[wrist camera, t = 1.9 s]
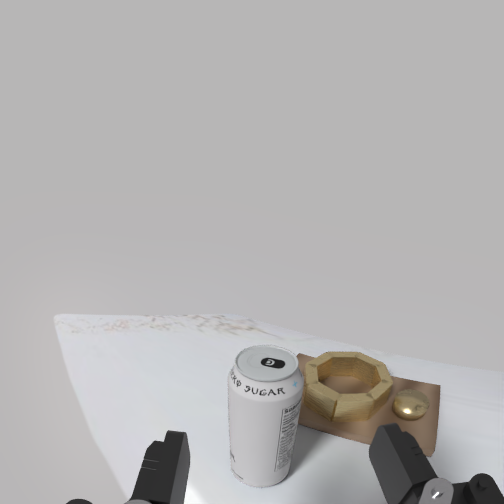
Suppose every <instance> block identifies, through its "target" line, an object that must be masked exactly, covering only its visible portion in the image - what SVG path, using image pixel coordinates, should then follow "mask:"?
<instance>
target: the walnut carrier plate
mask: <svg viewBox="0 0 504 504" xmlns="http://www.w3.org/2000/svg"><path fill="white" fill-rule="evenodd" d="M296 357H297V359H298V362H299V365H298V367H299V369H300V370H301V372H302V374H303V377H304V372H305V364H306V363H307V362H309V361H311V360H313V359H315V358H314V357H311V356H307V355H304V354H300V353H299V354H298V355H297V356H296ZM391 379H392V381H393V385H392V388H391V391H390V394H389V397H388V399H387V402H386V404H385V405H384V406H383V407H382V408H381V409H380V410H379V411H378V412H377V413H376V414H375V415H374V416H373V417H372V418H371V419H370V420H367V421H358V422H332V421H328V420H327V419H325V418H323V417H322V416H320V415H319V414H317V413H316V412H314V411H312V410H311V409H309V408H308V407H306V406H305V405H304V404H303V393H302V400H301V406H300V412H299V418H298V424H301V425H304V426H307V427H310V428H313V429H316V430H319V431H323V432H326V433H329V434H333V435H336V436H339V437H343V438H346V439H350V440H354V441H358V442H361V443H365V444H369V445H371V443H372V440H373V438H374V436H375V433H376V431H377V428H378V427H379V426H380V425H385V424H390V423H397V424H398V425H399V427H400V429H401V431H402V432H405V431H407V432H408V433H410V434H411V435H412V436H413V437H415V439H416V441H417V442H418V444H419V447H421V449H422V451H423V454H425V456H430V457H431V456H432V454H433V452H434V451H435V444H436V436H437V427H438V417H439V403H440V385H435V384H429V383H424V382H418V381H413V380H408V379H403V378H398V377H393V376H391ZM320 383H322V384H323V385H325V386H327V387H329V388H330V389H332V390H334V391H336V392H338V393H339V394H359V393H368V392H370V391H371V390H372V389H371V386H370V385H368V384H366V383H364V382H362V381H360V380H358V379H356V378H354V377H352V376H329V377H327V378H326V379H324V380H323V381H321V382H320ZM407 389H411V390H417V391H420V392H422V393H423V394H425V395H426V396H427V398H428V399H429V406H428V409H427V411H426V413H425V415H424V416H423V417H422V418H421V419H419V420H416V421H406V420H402V419H400V418H398V417H397V416H396V415H395V414H394V413H393V411H392V404H393V401H394V399H395V396H396V394H397V393H398V392H400V391H402V390H407Z"/></svg>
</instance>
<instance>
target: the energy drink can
mask: <svg viewBox="0 0 504 504" xmlns="http://www.w3.org/2000/svg"><path fill="white" fill-rule="evenodd" d="M298 365H299V362H298V359H297V357H296V356H295V354H294V353H292V352H291V351H289V350H287V349H285V348H282V347H278V346H272V345H258V346H253V347H249V348H247V349H244V350H243V351H241V352H240V353H239V354H238V355H237V357H236V359H235V365H234V366H233V368H232V369H231V371H230V372H229V374H228V409H229V437H230V460H231V470H232V473H233V475H234V476H235V477H236V478H237V479H238V480H239V481H240V482H242V483H244V484H246V485H248V486H251V487H257V488H263V487H269V486H273V485H275V484H277V483H279V482H281V481H282V480H283V479H284V478H285V477H286V476H287V474H288V472H289V468H290V462H291V457H292V452H293V447H294V441H295V436H296V430H297V424H298V418H299V412H300V406H301V400H302V393H303V386H304V377H303V374H302V372H301V370H300V369H299V367H298Z"/></svg>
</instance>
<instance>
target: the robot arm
mask: <svg viewBox="0 0 504 504" xmlns="http://www.w3.org/2000/svg"><path fill="white" fill-rule="evenodd" d="M369 457H370V461H371V463H372V465H373V468H374V470H375V473H376V475H377V478H378V480H379V483H380V485H381V488H382V490H383V493H384V495H385V498H386V501H387V503H388V504H504V497H503V495H502V493H501V491H500V490H499V488H498V486H497V485H496V483H495V481H494V480H493V478H492V477H491V476H490V475H488V474H484V473H480V474H477V475H475V476H473V477H472V479H471V480H470V481H469V482H464V483H455V484H451V483H450V482H449V481H448V480H446V479H443V478H438V477H437V475H436V474H435V472H434V470H433V468H432V466H431V465H430V463H429V461H428V460H427V458H426V456H425V454H423V451H422V449H421V447H419V444H418V442H417V441H416V439H415V437H413V436H412V435H411V434H410V433H408V432H407V431H405V432H402V431H401V429H400V427H399V425H398V424H397V423H390V424H385V425H380V426H379V427H378V428H377V431H376V433H375V436H374V438H373V440H372V443H371V445H370V448H369ZM189 468H190V451H189V445H188V439H187V434H186V432H177V431H169V430H168V431H167V433H166V436H165V440H164V442H161V441H154V442H153V443H152V444H151V445H150V446H149V447H148V448H147V450H146V453H145V456H144V460H143V462H142V466H141V469H140V472H139V475H138V478H137V481H136V485H135V488H134V491H133V494H132V497H131V498H130V500H129V501H128V502H126V503H125V504H184V498H185V492H186V485H187V479H188V473H189ZM66 504H92V503H91V502H89V501H87V500H83V499H74V500H71V501H69V502H68V503H66Z"/></svg>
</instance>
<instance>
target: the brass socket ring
mask: <svg viewBox="0 0 504 504" xmlns="http://www.w3.org/2000/svg"><path fill="white" fill-rule="evenodd" d="M329 376H352V377H354V378H356V379H358V380H360V381H362V382H364V383H366V384H368V385H370V386H371V389H372V390H371V391H370V392H368V393H359V394H339V393H338V392H336V391H334V390H332V389H330V388H329V387H327V386H325V385H323V384H322V383H320V382H321V381H323V380H324V379H326V378H327V377H329ZM392 385H393V381H392V379H391V376H390V374H389V372H388V370H387V368H386V365H385V364H384V363H382V362H380V361H378V360H376V359H373V358H371V357H369V356H367V355H364V354H362V353H360V352H359V353H358V352H326V353H324V354H322V355H320V356H318V357H317V358H315V359H313V360H311V361H309V362H307V363H306V364H305V372H304V386H303V404H304V405H305V406H306V407H308V408H309V409H311V410H312V411H314V412H316V413H317V414H319V415H320V416H322V417H323V418H325V419H327V420H328V421H332V422H358V421H367V420H370V419H371V418H372V417H373V416H374V415H375V414H376V413H377V412H378V411H379V410H380V409H381V408H382V407H383V406H384V405H385V404H386V402H387V399H388V397H389V394H390V391H391V388H392ZM428 406H429V399H428V398H427V396H426V395H425V394H423V393H422V392H420V391H417V390H411V389H407V390H402V391H400V392H398V393H397V394H396V396H395V399H394V401H393V404H392V411H393V413H394V414H395V415H396V416H397V417H398V418H400V419H402V420H406V421H416V420H419V419H421V418H422V417H423V416H424V415H425V413H426V411H427V409H428Z"/></svg>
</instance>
